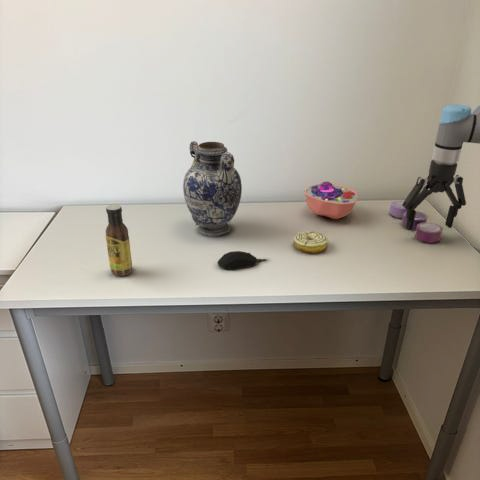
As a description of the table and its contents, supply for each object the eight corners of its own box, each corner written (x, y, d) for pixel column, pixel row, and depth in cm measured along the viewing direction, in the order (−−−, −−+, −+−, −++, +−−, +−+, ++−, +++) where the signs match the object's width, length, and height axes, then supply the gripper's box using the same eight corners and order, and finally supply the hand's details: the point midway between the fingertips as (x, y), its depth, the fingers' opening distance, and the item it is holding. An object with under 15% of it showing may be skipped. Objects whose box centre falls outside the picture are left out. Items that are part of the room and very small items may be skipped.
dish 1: (405, 210, 186) (407, 199, 184) (415, 218, 180) (418, 207, 177) (385, 211, 185) (386, 200, 183) (394, 220, 178) (396, 209, 176)
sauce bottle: (106, 272, 147) (95, 206, 136) (123, 264, 151) (114, 200, 140) (120, 279, 144) (110, 212, 133) (137, 271, 148) (129, 205, 136)
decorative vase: (172, 227, 173) (166, 142, 157) (215, 213, 183) (213, 132, 167) (212, 249, 160) (208, 158, 144) (255, 232, 170) (257, 146, 154)
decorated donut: (317, 237, 167) (318, 227, 165) (333, 251, 158) (334, 240, 156) (288, 242, 164) (288, 231, 162) (302, 256, 155) (303, 245, 153)
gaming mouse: (269, 265, 151) (269, 252, 149) (220, 271, 148) (220, 259, 145) (262, 255, 156) (263, 243, 154) (215, 261, 153) (215, 249, 150)
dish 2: (432, 232, 170) (435, 221, 168) (444, 243, 163) (447, 231, 161) (409, 234, 169) (412, 223, 166) (421, 245, 162) (423, 233, 160)
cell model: (327, 230, 171) (330, 198, 165) (293, 210, 186) (295, 179, 179) (366, 220, 178) (371, 189, 172) (331, 202, 192) (334, 172, 186)
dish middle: (418, 221, 178) (420, 210, 176) (429, 230, 172) (432, 219, 169) (396, 222, 177) (398, 211, 175) (407, 232, 170) (409, 221, 168)
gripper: (475, 155, 157) (458, 220, 169) (399, 159, 153) (387, 225, 165) (490, 163, 151) (470, 229, 163) (411, 167, 147) (397, 235, 159)
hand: (428, 227), depth 164 cm, fingers open, 13 cm apart
